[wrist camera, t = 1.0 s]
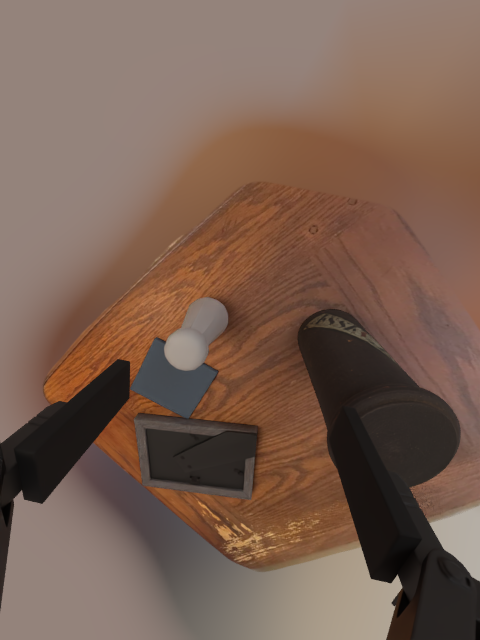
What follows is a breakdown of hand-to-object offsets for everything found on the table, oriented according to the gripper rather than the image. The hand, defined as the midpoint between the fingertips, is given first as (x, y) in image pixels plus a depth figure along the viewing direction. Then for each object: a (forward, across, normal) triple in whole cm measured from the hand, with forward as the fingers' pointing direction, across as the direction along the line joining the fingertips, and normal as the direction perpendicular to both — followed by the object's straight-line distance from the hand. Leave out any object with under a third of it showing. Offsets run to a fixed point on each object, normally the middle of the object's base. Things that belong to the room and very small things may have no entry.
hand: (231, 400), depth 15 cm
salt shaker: (+21, -5, -2) cm, 22 cm away
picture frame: (+21, -4, -30) cm, 37 cm away
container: (+21, +12, -2) cm, 24 cm away
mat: (+21, -10, -15) cm, 27 cm away
